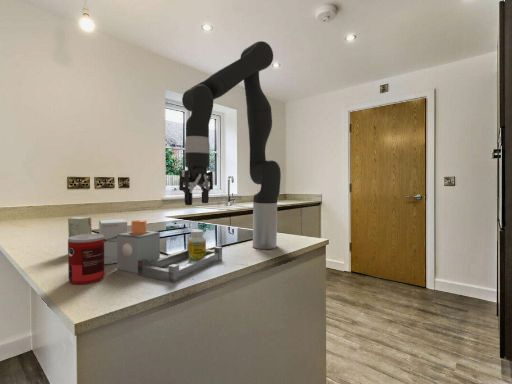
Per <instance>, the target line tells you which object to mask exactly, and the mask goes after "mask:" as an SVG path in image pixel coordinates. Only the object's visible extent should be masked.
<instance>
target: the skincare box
mask: <svg viewBox="0 0 512 384" xmlns="http://www.w3.org/2000/svg"><path fill="white" fill-rule="evenodd" d="M67 229H68V230H67V231H68V238H69V237H71V236H75V235H82V234H93V233H92V217H87V216H74V217H67Z"/></svg>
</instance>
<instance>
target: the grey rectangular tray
mask: <svg viewBox="0 0 512 384" xmlns="http://www.w3.org/2000/svg"><path fill="white" fill-rule="evenodd" d="M187 259H189V243H187V248H186V249H183V250H179V251H177V252H174V253H171V254H169V255H166V256H162V257H160V258H159V259H157V260H154V261H151V262H148V259H140V260H138V273H137V276H141V277H145V278H149V279H155V280H158V281H165V282H170V283H177V282H178V281H180V280H183V279H184V278H186V277H189V276H190V275H192V274H194V273H197V272H198V271H200V270H202V269H205V268H206V267H209V266H211V265H213V264H214V263H217V262H218V261H219V262H220V261H222V259H223V246H215V247H214V248H213V249H208V248H206V256H205V257H203V258H200V259H198V260H196V261H193V262H189V263H187V264H186V263H185V264H184V265H182V266H180V265H179V264H176V263H179V262H181V261H184V260H187Z"/></svg>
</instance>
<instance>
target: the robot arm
mask: <svg viewBox="0 0 512 384" xmlns="http://www.w3.org/2000/svg"><path fill="white" fill-rule="evenodd" d="M273 61H274V51H273V48H272V46H271V45H270V44H269V43H267V42H266V41H262V40H261V41H257V42H254V43H252V44H250V45H248V46H246V47H245V48H243V50H241V53H240V58H238V59H237V60H235V61H233V62H231V63H229V64H227V65H226V66H223V67H222V68H219V70H217V71H216V72H214V73H212V74H211V75H209V76H208V77H207V78H206V79H205V80H203V81H201V82H199V83H197V84H195V85H193V86H192V87H190V88H188V89H187V90H185V91H184V93H183V95H182V98H181V102H182V106H183V107H184V109H185V110H187V111H188V112H191V114H190V116H189V118H187V120H186V123H185V140H184V141H185V143H184V166H185V168H187V170H186V169H185V170H184V169H183V170H179V183H178V184H179V185H178V187H179V188H178V189H179V191H182V192H183V194H184V205H185V206H193V191H194V189H195V188H196V187H197V186H199V188H200V189H201V204H208V203H209V199H210V196H209V195H210V194H209V192H210V191H211V190H213V189H214V178H213V174H214V173H213V171H207V169H208V168H210V165H211V164H210V162H211V161H210V159H211V158H210V148H211V147H210V122H211V117H212V113H213V109H214V100H216V99H219V98H221V97H222V96H224V95H226V94H227V93H228V92H229V91H231V90H232V89H234V88H235V87H236V86H237V85H239V84H240V83H241V82H242V81H243V84H244V93H245V101H246V102H245V104H246V115H247V126H248V128H247V129H248V141H249V143H248V144H249V175H250V177H249V178H250V180H251V181H252V182H253V183H254V184H256V185H260V190H259V191H258V192H257V193H255V194H254V195H253V197H252V198H253V207H252V210H253V211H252V216H253V217H252V247H253V248H254V249H260V250H272V249H277V235H278V233H277V232H278V230H277V229H278V227H277V226H278V198H279V196H280V190H281V176H282V175H281V173H282V172H281V167H280V165H279V163H278V162H276V161H275V160H269V159H268V160H267V158H266V148H267V142H268V139H269V137H270V135H271V131H272V128H273V115H272V113H273V112H272V106H271V103H270V101H269V99H268V98H267V96H266V95H265V93H264V91H263V89H262V87H261V81H260V72H262V71H263V70H266V69H267V68H269V67H270V66H271V65H272V63H273Z"/></svg>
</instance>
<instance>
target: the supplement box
mask: <svg viewBox="0 0 512 384" xmlns="http://www.w3.org/2000/svg"><path fill="white" fill-rule="evenodd" d="M126 232H128V221H127V220H126V219H125V218H119V219H116V218H115V219H99V221H98V234H102V235H104V265H110V264H118V262H117V234H121V233H126Z"/></svg>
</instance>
